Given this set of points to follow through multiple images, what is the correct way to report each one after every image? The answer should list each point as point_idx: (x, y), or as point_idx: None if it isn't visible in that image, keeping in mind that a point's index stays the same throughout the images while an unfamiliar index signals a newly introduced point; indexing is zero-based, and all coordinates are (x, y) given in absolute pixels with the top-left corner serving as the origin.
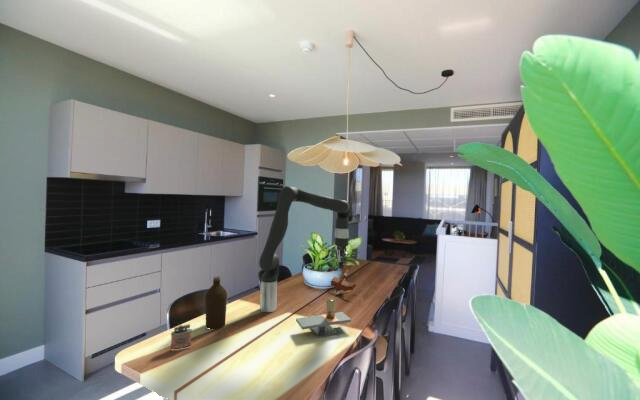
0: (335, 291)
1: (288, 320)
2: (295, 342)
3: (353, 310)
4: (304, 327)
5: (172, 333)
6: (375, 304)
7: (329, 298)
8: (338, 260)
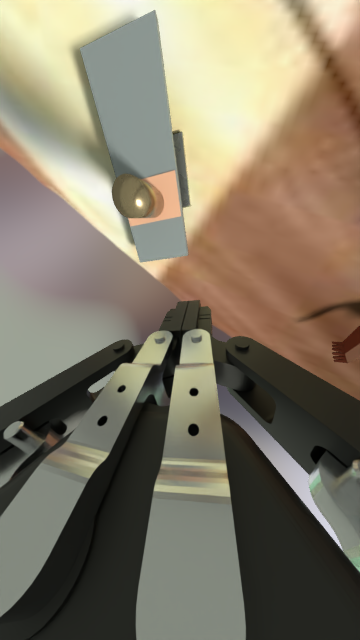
0: None
1: (264, 13)
2: None
3: (250, 303)
4: (84, 63)
5: None
6: None
7: (145, 195)
8: (193, 334)
